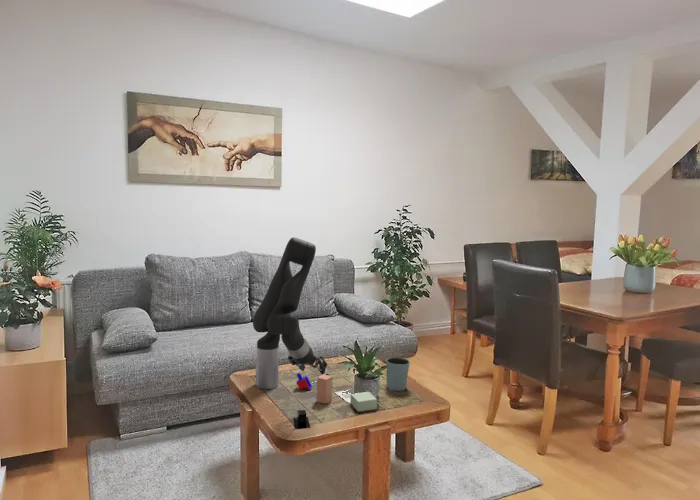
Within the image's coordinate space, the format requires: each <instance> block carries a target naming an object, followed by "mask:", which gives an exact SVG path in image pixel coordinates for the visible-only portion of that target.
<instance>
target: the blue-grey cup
mask: <svg viewBox="0 0 700 500" xmlns="http://www.w3.org/2000/svg"><path fill="white" fill-rule="evenodd" d="M385 365H386V366H387V370H386V371H385V372H386V373H385V374H386V375H385V376H386V388H387V389H388V390H390V391H396V392H401V391H402V392H403V391H404V390H406V389H407V385H408V384H407V382H408V376H409V375H408V374H409V367H410V360H409V359H407V358H405V357H400V356H393V357H391V356H390V357H387V358H386V360H385Z"/></svg>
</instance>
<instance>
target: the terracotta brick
mask: <svg viewBox="0 0 700 500" xmlns="http://www.w3.org/2000/svg"><path fill="white" fill-rule="evenodd" d="M316 379H317V381H316V382H317V385H316V402H318V403H322V404H324V405H327V404H329V403H330V402H331V401H333V375H324V374H321V376H320V375H319V376H317V377H316ZM326 403H327V404H326Z"/></svg>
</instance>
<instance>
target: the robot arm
mask: <svg viewBox="0 0 700 500" xmlns="http://www.w3.org/2000/svg"><path fill="white" fill-rule="evenodd" d="M315 256H316V245H315V244H314V243H312V242H309V241H307V240H303V239H301V238H297V237H291V238H290V239H289V240H288V242H287V244H286V246H285V248H284V251H283V254H282V256H281V259H280V262H279V265H278V266H277V268H276V269H277V270H276V272H275V273H274V275H273V277H272V279H271V282H270V284H269V286H268V288H267V291H266V293H265V295H264V297H263V300H262V302H261V303H260V305H259V306H258V308H257V309H256V311H255V313H254V315H253V317H252V326H253V330H255V332H257V333H266V334H265V335H263V336H262V337H260V338H259V339H257V341H256V362H255V385H256V387H257V389H259V390H261V389H262V390H269V389H270V390H272V389H275V388H277V387H278V386H279V358H280V357H279V355H280V352H279V351H280V349H279V348H280V345H279V344H280V340H281V342H282V343H283V345H284V346H285V347H286V349H287V351H288V353H289V355H288V357H287V359H288V361H289V363H290V365H292V366H296V367H297V368H299V370H300V371H301V372H305V369H306V366H310V367H311V368H313V369H317V370H318V372H319V373H320V374H321V375H323V374H324V373H325V371H326V368H327V366H328V363H327V361H326V359H324V357H323V356H319V357H316V356H315V355H314V350H313V349H312V347H311V346H310V343H309V342H308V341H307V339H306V338H305V337H304V336H303V334H302V332H301V329H300V320H299V318H298V316H297V315H296V314H293V313H294V312H296V311H297V310H298V309H299V305H300V300H301V296H302V291H303V288H304V285H305V283H306V280H307V278H308V276H309V273H310V270H311V268H312V265H313V262H314V259H315ZM290 262H291V263H294V264H295V265H296V264H297V265H300V266H301V268H300V269H299V271H297V273H296V274H294V275H293V274H292V271H291V266H290ZM318 365H319V366H318Z"/></svg>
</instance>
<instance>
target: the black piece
mask: <svg viewBox="0 0 700 500" xmlns="http://www.w3.org/2000/svg"><path fill="white" fill-rule="evenodd" d="M296 416H297V417H295V416H294V417H292V421H293V425H294V429H295V430H303V429H311V423H310V420H309V418H308V416H307V412H306V410H305V409H302V410H301V409H298V410H297V413H296Z"/></svg>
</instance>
